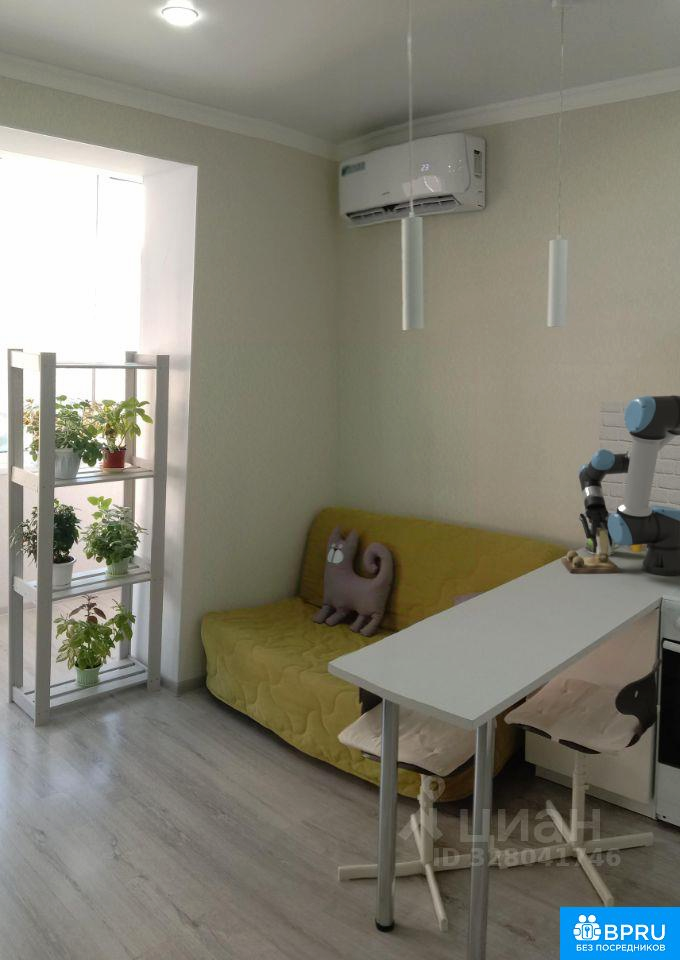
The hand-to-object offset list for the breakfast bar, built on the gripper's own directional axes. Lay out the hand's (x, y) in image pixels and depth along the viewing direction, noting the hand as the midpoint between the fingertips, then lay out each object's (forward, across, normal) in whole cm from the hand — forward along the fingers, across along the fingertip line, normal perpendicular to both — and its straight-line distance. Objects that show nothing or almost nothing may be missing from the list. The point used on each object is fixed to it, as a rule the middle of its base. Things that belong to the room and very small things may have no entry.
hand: (604, 553), depth 296 cm
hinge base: (+2, +4, -7) cm, 8 cm away
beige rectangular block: (0, 0, -5) cm, 5 cm away
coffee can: (-14, -6, -24) cm, 28 cm away
